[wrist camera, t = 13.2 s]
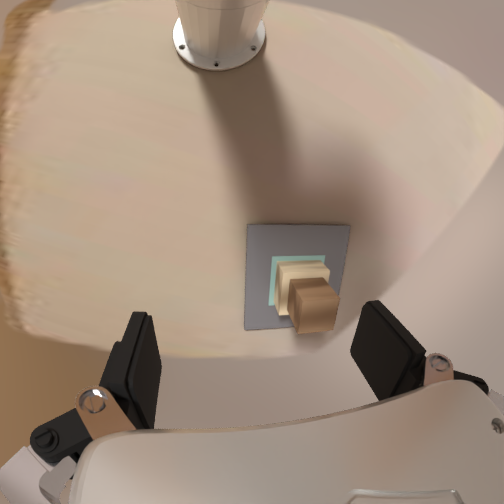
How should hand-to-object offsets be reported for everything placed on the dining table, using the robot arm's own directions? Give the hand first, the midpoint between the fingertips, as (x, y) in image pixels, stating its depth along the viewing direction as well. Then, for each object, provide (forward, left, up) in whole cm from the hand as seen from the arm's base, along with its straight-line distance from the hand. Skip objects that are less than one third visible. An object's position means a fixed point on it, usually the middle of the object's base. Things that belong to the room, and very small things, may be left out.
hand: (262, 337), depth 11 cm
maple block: (+12, +11, -28) cm, 32 cm away
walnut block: (+12, +11, -24) cm, 29 cm away
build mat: (+12, +11, -28) cm, 33 cm away
